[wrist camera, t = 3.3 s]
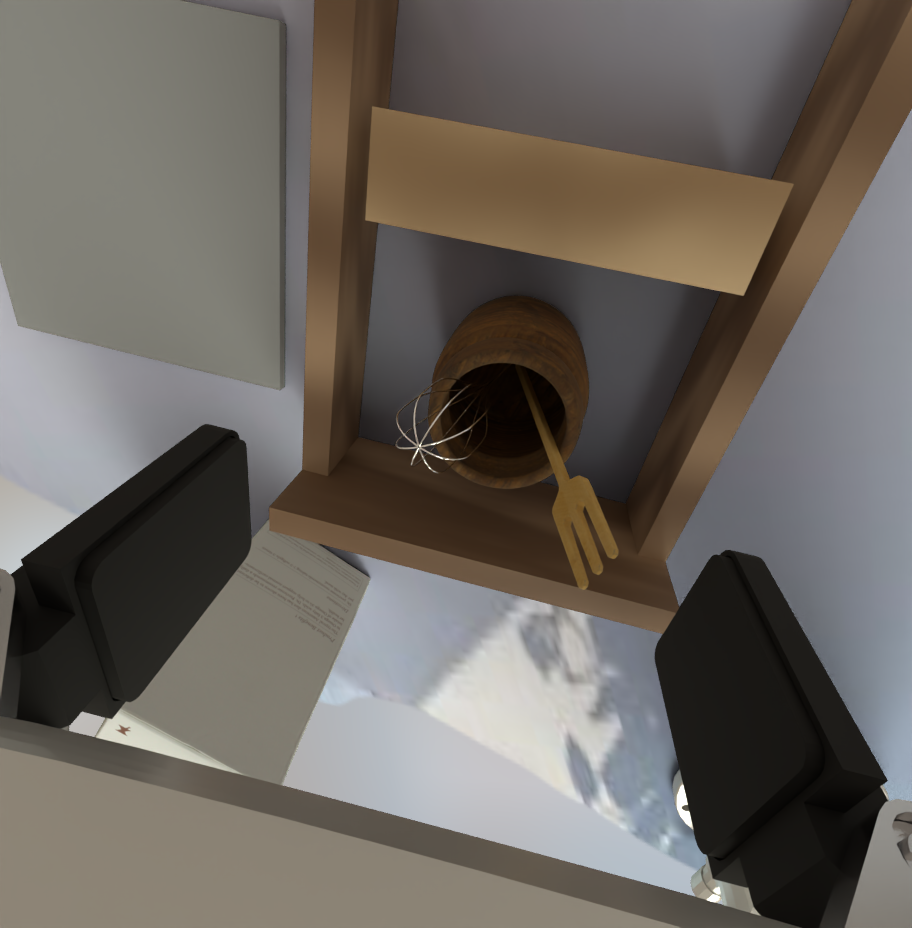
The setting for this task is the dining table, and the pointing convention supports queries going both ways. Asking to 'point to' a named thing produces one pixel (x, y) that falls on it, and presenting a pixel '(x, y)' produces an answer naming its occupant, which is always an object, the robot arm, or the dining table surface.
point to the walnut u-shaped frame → (697, 397)
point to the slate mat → (146, 179)
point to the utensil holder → (517, 412)
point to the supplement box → (250, 663)
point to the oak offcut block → (570, 200)
